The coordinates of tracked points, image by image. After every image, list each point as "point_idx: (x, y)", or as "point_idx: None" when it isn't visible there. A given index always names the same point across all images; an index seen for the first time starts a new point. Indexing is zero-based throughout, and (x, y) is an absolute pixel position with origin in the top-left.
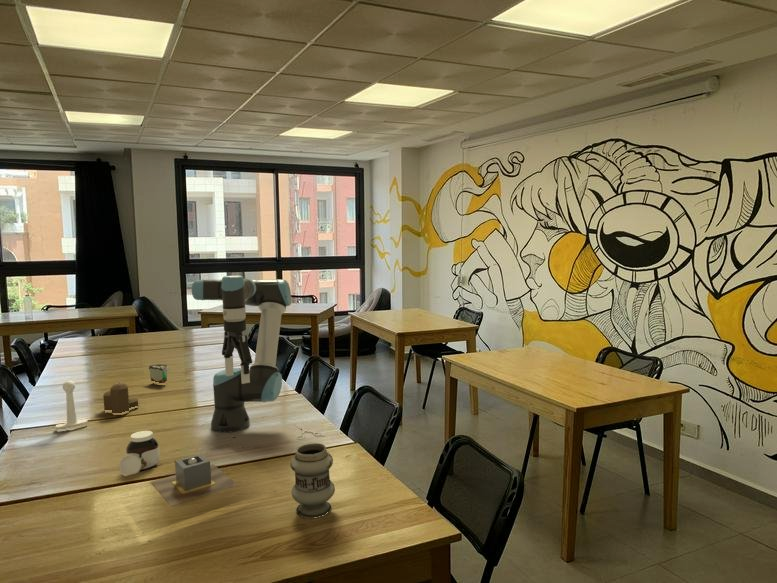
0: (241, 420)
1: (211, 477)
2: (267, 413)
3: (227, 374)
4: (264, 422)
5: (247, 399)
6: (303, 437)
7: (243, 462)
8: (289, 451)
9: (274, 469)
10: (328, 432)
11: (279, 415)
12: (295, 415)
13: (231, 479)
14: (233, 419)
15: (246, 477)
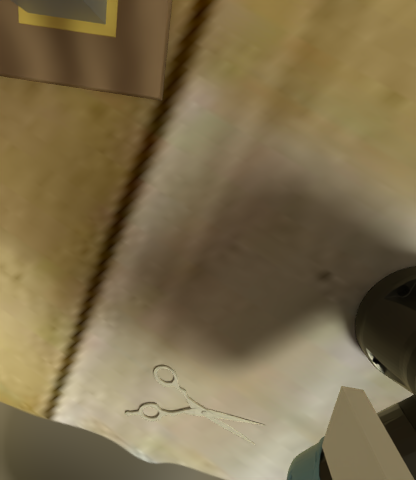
0: (371, 341)
1: (70, 38)
2: None
3: (345, 409)
4: None
5: (381, 412)
6: (159, 380)
7: (135, 185)
8: (109, 305)
9: (36, 213)
10: (143, 433)
11: None
12: None
13: (18, 76)
14: (386, 323)
15: (40, 133)
